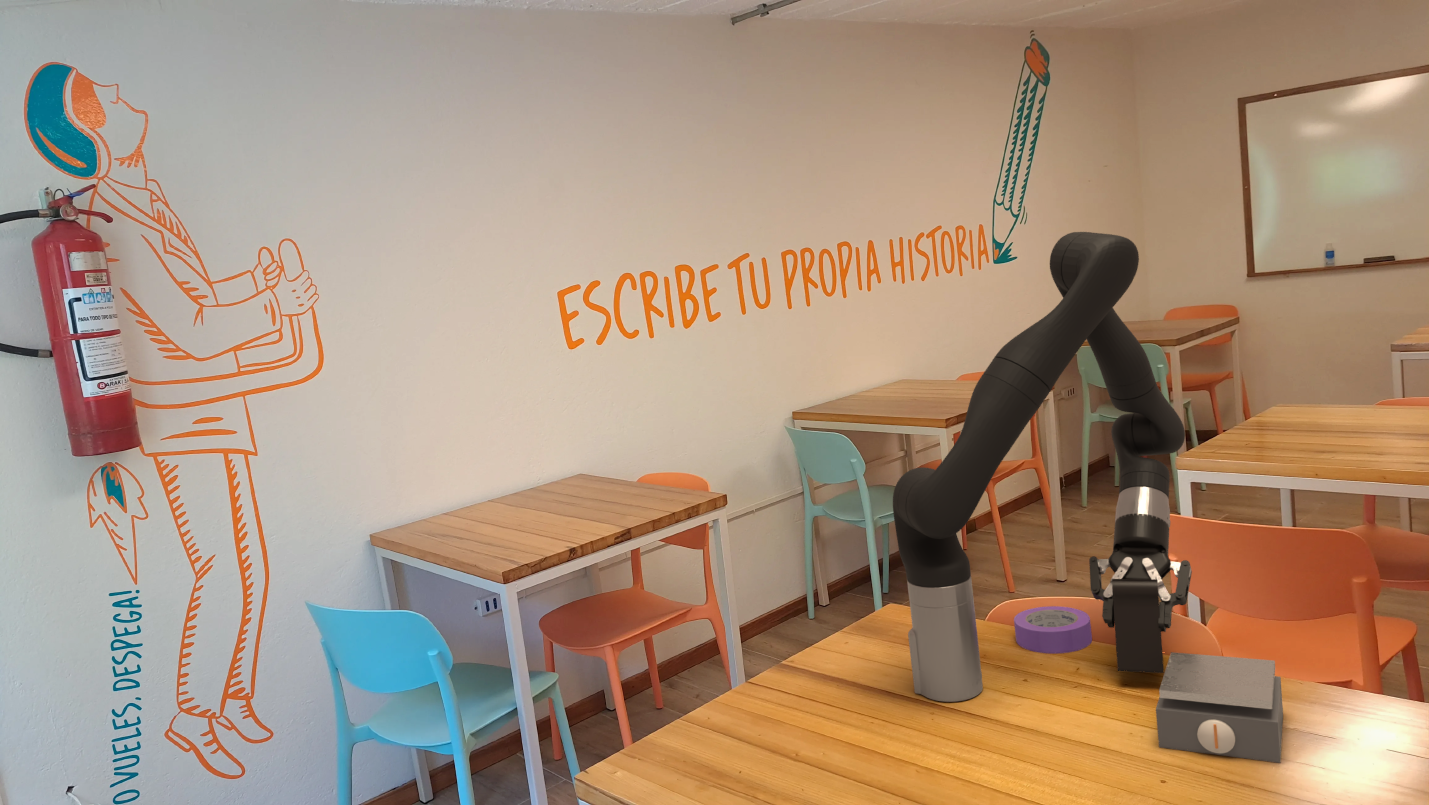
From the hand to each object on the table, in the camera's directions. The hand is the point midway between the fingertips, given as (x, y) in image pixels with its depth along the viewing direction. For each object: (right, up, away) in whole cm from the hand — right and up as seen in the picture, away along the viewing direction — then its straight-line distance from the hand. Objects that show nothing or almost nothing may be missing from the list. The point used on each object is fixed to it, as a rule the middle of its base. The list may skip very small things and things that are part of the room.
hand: (1136, 627), depth 136 cm
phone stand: (+2, -5, +2) cm, 6 cm away
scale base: (+4, -9, -15) cm, 18 cm away
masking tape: (-5, -7, +20) cm, 21 cm away
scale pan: (+3, -3, -16) cm, 17 cm away
